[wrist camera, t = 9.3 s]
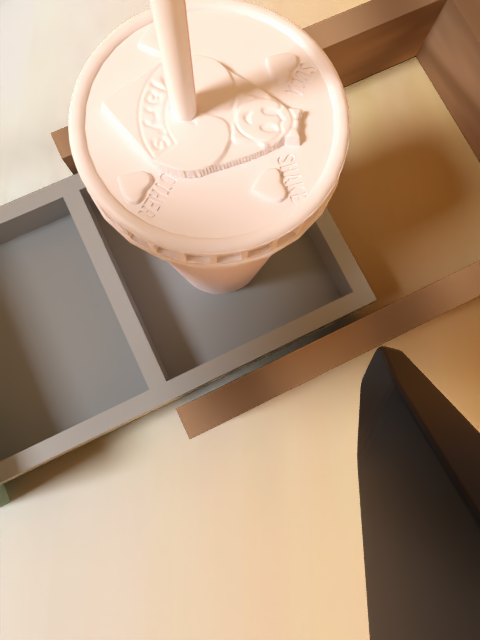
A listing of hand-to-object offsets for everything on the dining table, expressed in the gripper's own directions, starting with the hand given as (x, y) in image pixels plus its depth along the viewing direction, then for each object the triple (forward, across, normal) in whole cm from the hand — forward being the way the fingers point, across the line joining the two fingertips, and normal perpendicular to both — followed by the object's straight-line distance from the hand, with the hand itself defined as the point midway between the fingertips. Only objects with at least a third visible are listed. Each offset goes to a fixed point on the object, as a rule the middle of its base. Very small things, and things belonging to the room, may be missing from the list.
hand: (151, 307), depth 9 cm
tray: (+9, +3, +6) cm, 12 cm away
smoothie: (+10, 0, +4) cm, 11 cm away
